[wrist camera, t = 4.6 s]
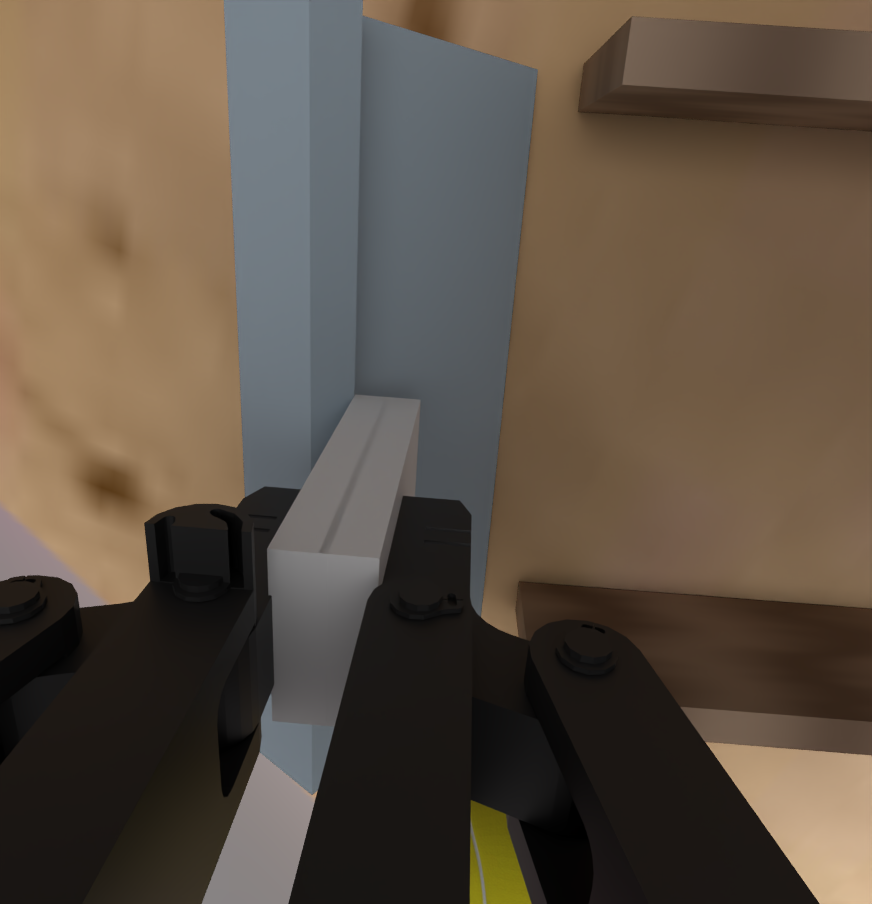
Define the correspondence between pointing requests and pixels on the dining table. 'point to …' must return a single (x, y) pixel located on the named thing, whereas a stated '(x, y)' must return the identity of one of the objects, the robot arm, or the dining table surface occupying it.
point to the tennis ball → (493, 860)
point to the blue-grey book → (371, 254)
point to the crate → (714, 618)
